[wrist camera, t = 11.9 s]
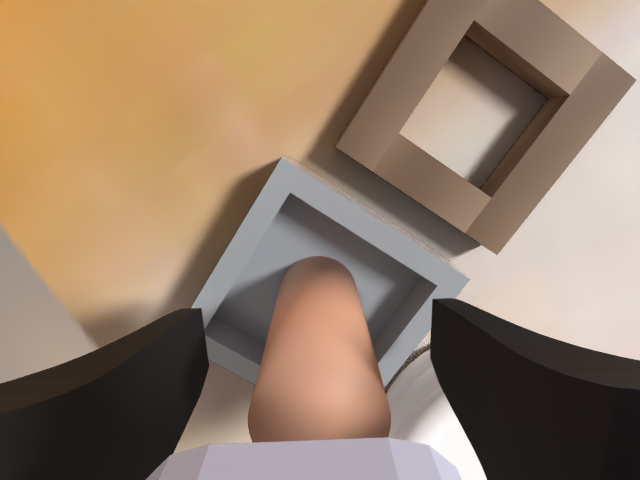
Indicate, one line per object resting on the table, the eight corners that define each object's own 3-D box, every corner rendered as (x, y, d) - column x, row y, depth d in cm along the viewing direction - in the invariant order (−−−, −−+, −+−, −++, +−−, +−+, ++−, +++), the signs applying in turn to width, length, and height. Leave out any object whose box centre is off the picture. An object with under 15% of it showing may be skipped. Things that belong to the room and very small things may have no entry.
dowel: (356, 254, 14) (391, 356, 7) (356, 325, 15) (390, 477, 8) (277, 257, 14) (241, 362, 7) (282, 328, 15) (253, 483, 8)
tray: (450, 261, 15) (470, 279, 13) (343, 399, 16) (347, 434, 15) (286, 155, 14) (281, 157, 12) (189, 314, 15) (171, 339, 13)
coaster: (561, 515, 19) (615, 598, 15) (361, 503, 18) (371, 586, 15) (618, 333, 16) (698, 385, 13) (387, 317, 16) (406, 365, 12)
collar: (608, 85, 13) (636, 80, 12) (483, 245, 15) (497, 254, 14) (452, -40, 12) (466, -59, 11) (333, 146, 14) (335, 146, 13)
